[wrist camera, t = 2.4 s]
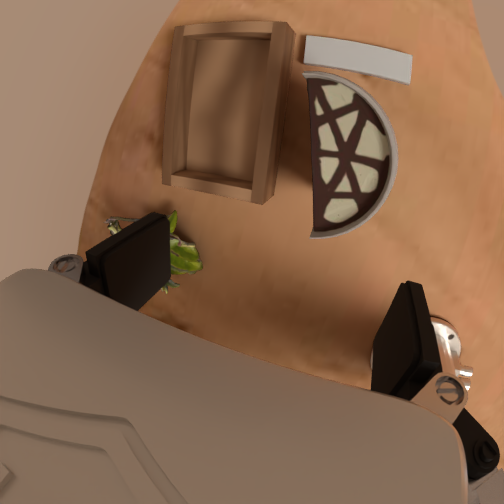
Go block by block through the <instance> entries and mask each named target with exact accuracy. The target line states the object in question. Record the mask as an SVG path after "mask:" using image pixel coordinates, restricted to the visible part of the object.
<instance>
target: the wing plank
mask: <svg viewBox="0 0 504 504" xmlns="http://www.w3.org/2000/svg"><path fill="white" fill-rule="evenodd" d="M412 56H413V55H409V54H406V53H402V52H398V51H394V50H391V49H386V48H382V47H378V46H373V45H369V44H364V43H358V42H353V41H347V40H341V39H334V38H327V37H318V36H309V35H307V36H306V46H305V55H304V64H305V65H311V66H319V67H326V68H332V69H338V70H344V71H350V72H355V73H360V74H365V75H369V76H374V77H378V78H382V79H386V80H390V81H394V82H398V83H401V84H405V85H409V84H410V79H411V69H412Z"/></svg>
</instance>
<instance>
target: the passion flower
mask: <svg viewBox="0 0 504 504" xmlns="http://www.w3.org/2000/svg"><path fill="white" fill-rule="evenodd" d="M167 219H168V220H169V221H170V235H171V236H173V237H176V238H178V239H175V238H172V237H170V260H171V274H176V275H178V274H186V273H189V274H195V273H196V271H198V270H201V269H203V265H202V261H201V260H200V258H199V253H198V251H197V249H196V248H195V243H194V242H191V243H187V242H185V241H182V240H180V239H179V237H178V236H177V235H175V234H173V232H174V229H175V228H176V224H177V211H176V210H175V211H173V213H172V215H167ZM118 220H123V221H133V222H136V221H138V220H140V219H130V218H122V217H110V218H109V219H107V220H106V222H104V223H109V225H108V227H107V228H109V229H110V234H111V235H114V234H116V233H117V232H119V231H121V230H122V229H121V227H120V225H119V222H118ZM106 239H107V238H106ZM167 286H170V287H172V288H177V287H179V286H180V284H177V283H174V282H173V281H172V280H170V279H169V281H168V282H167V283H166V284H165V285H164V286H163V287H162V288H161V290H162V291H164V290H165V292H166V294H167V293H168V287H167Z"/></svg>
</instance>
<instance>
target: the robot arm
mask: <svg viewBox="0 0 504 504" xmlns="http://www.w3.org/2000/svg"><path fill="white" fill-rule="evenodd" d="M86 258H87V261H85V262H83V259H82V257H81V256H79V255H75V254H68V255H63V256H61V257H58V258H56V259H55V260H54V261H52V262H51V264H50V266H49V268H48V271H47V270H42V269H23V270H20V271H18V272H16V273H14V274H12V275H10V276H9V277H7V278H5V279H4V280H2V281H1V282H0V504H504V471H503V469H502V468H501V469H499V470H498V469H497V465H498V463H499V458H500V453H499V448H498V445H497V443H496V442H495V440H494V439H493V438H492V437H491V436H490V435H489V434H488V433H487V432H486V430H485V429H484V428H483V427H482V426H481V425H480V424H479V423H478V422H477V421H476V420H475V419H474V418H473V417H472V416H471V414H470V413H469V412H468V411H467V410H466V409H465V408H464V406H465V405H466V403H467V400H468V392H467V391H468V389H469V387H470V384H471V382H470V379H468V378H462V377H457V376H458V375H462V376H466V377H470V376H471V375H472V373H473V368H472V367H469V366H461V364H460V363H459V356H460V353H461V343H460V339H459V336H458V333H457V331H456V330H455V328H454V327H453V326H452V325H450V324H449V323H448V322H446V321H444V320H442V319H438V318H434V317H430V313H429V309H428V306H427V302H426V298H425V294H424V291H423V287H422V285H421V284H419V283H415V282H412V281H406V283H405V284H404V283H401V284H400V286H399V288H398V290H397V293H396V295H395V297H394V299H393V302H392V304H391V306H390V308H389V310H388V312H387V314H386V316H385V318H384V320H383V322H382V324H381V326H380V328H379V330H378V332H377V334H376V336H375V339H374V343H373V349H372V352H371V360H370V362H371V369H372V380H371V390H367V389H364V388H360V387H356V386H352V385H348V384H344V383H340V382H336V381H332V380H328V379H325V378H321V377H317V376H314V375H310V374H307V373H303V372H300V371H296V370H293V369H290V368H286V367H283V366H280V365H277V364H274V363H271V362H267V361H264V360H261V359H258V358H255V357H252V356H249V355H246V354H244V353H241V352H238V351H235V350H232V349H229V348H227V347H224V346H221V345H218V344H216V343H213V342H210V341H208V340H205V339H203V338H200V337H198V336H195V335H192V334H190V333H187V332H185V331H182V330H180V329H178V328H175V327H173V326H170V325H168V324H166V323H163V322H161V321H159V320H156V319H154V318H152V317H149V316H147V315H145V314H143V313H141V312H138V310H139V309H140V308H141V307H142V306H143V305H144V304H145V303H146V302H147V301H148V300H149V299H150V298H152V297H153V296H154V295H155V294H156V293H157V292H158V291H159V290H160V289H161V288H162V287H163V286H164V285H165V284H166V283H167V282H168V281H169V279H170V277H171V260H170V221H169V220H168V219H167V216H166V215H163V214H159V213H155V212H152V213H150V214H148V215H147V216H145V217H143V218H141V219H140V220H138V221H136V222H134V223H133V224H131V225H129V226H127V227H126V228H124V229H122V230H121V231H119V232H117V233H116V234H114V235H112V236H111V237H109V238H107V239H106V240H104V241H102V242H101V243H99V244H97V245H96V246H94V247H93V248H91V249H89V250H88V251H86Z"/></svg>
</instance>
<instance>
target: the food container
mask: <svg viewBox="0 0 504 504" xmlns="http://www.w3.org/2000/svg"><path fill="white" fill-rule="evenodd" d="M302 75H303V76H304V77H305V79H306V80H307V90H308V97H309V111H310V128H311V159H312V177H313V229H312V232H311V235H310V239H324V238H330V237H336V236H339V235H342V234H346V233H348V232H350V231H352V230H354V229H356V228H358V227H360V226H361V225H363V224H364V223H365V222H367V221H368V220H369V219H370V218H371V217H372V216H373V215H374V214H375V213H376V212H377V211H378V210H379V209H380V207H381V206H382V205H383V203H384V202H385V200H386V199H387V197H388V195H389V193H390V191H391V189H392V187H393V185H394V181H395V177H396V174H397V167H398V147H397V141H396V137H395V133H394V130H393V127H392V125H391V123H390V121H389V118H388V117H387V115H386V113H385V112H384V110H383V109H382V107H381V106H380V105H379V104H378V102H377V101H376V100H375V99H374V98H373V97H372V96H371V95H370V94H369V93H368V92H366V91H365V90H364V89H363V88H361V87H360V86H359V85H357V84H355V83H353V82H351V81H350V80H348V79H346V78H343V77H340V76H338V75H335V74H331V73H326V72H320V71H304V73H302Z"/></svg>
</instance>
